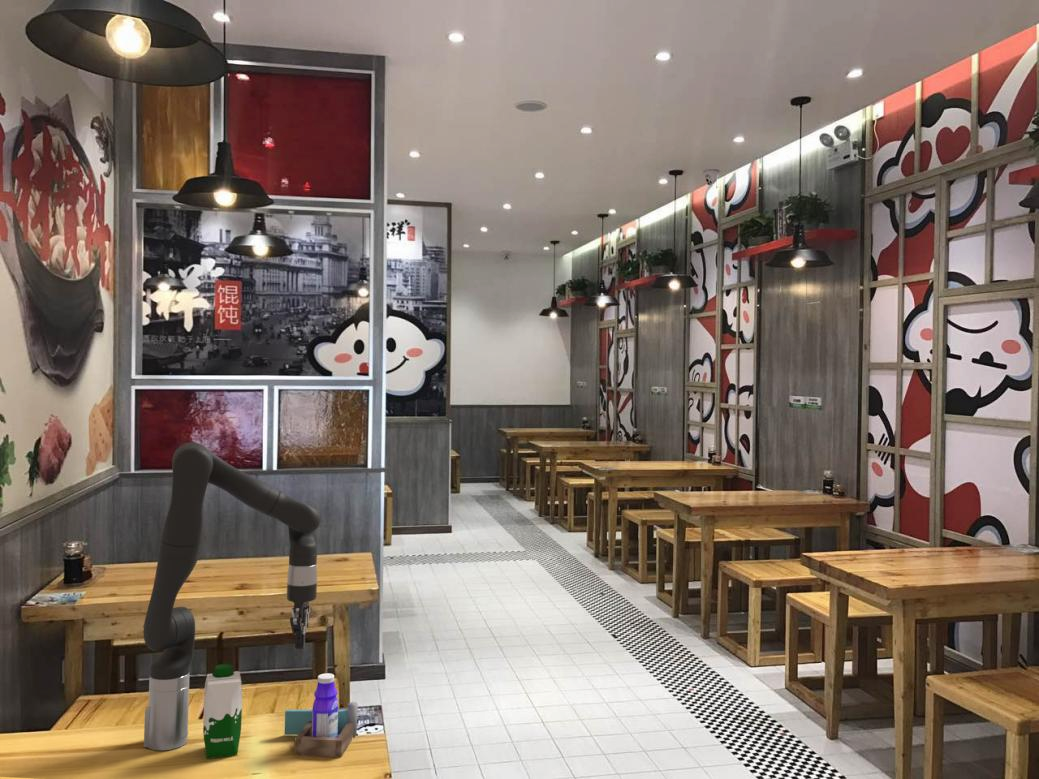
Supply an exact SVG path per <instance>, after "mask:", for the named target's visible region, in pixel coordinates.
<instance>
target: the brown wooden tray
mask: <svg viewBox="0 0 1039 779" xmlns="http://www.w3.org/2000/svg"><path fill="white" fill-rule="evenodd" d="M352 738H353V739H354V737H353V723H347V724H346V726H345V727H344V729H343V730H342V732H341V733H340V735H338V738H330V737H312V721H309V722H308V723H307V724H306V726H305V727H304V728H303V729H302V731H301V732H300V733H299V734H298V735H296V737H295V738H294V756H305V757H306V756H307V757H309V756H310V757H325V758H326V757H329V758H342V757H343V755H344V754H345V752H346V751H347V749H348V747H349V746H350V744H351V743H352V741H353V740H352ZM351 740H352V741H351ZM350 742H351V743H350ZM348 745H349V746H348Z"/></svg>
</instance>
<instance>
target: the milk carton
mask: <svg viewBox="0 0 1039 779" xmlns="http://www.w3.org/2000/svg"><path fill="white" fill-rule="evenodd" d="M242 687H243V683H242V678H241V674H240V671H237V670H236V671H233V665H232V664H229V663H222V664H221V663H220V664H218V665H216V666H214V672H212V673H207V675H206V679H205V683H204V691H203V697H204V700H203V726H202V727H203V728H202V731H203V732H202V734H203V742H204V749H205V750H204V751H205V756H206V760H207V759H208V760H209V759H215V758H223V757H224V758H225V757H232V756H238V752H239V746H240V745H239V744H240V740H241V735H242V717H243V715H242V714H243V689H242Z"/></svg>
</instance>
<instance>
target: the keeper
mask: <svg viewBox="0 0 1039 779" xmlns="http://www.w3.org/2000/svg"><path fill="white" fill-rule="evenodd" d="M312 716H313V711H312V709H285V711H284V736H295V735H296V736H298V734H299V733H300V732H301V731H302V729H303V728H304V727H305V726H306V724H307V723H308V722H309V721H312ZM347 723H353V738H354V737H356V736H357V733H358V732H357V731H358V730H357V728H358V702H354V701H352V702H351V701H350V702H348V703H347V709H338V736H339V735H340V733H341V732H342V730H343V729H344V727H345V726H346V724H347Z"/></svg>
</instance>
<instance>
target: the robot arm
mask: <svg viewBox="0 0 1039 779" xmlns="http://www.w3.org/2000/svg"><path fill="white" fill-rule="evenodd" d="M171 463H172V464H171V466H172V467H171V468H172V469H171V470H172V486H171V499H170V504H169V508H168V511H167V515H166V517H165V520H164V523H163V527H162V530H161V536H160V540H159V549H158V554H157V565H156V570H155V576H154V581H153V586H152V587H153V588H152V590H151V591H152V592H151V595H150V598H149V603H148V606H147V610H146V614H145V618H144V622H143V630H142V632H143V633H142V634H143V640H144V643H145V645H146V647H147V648H148V649H149V650H151V651H155V652H156V651H157V652H158V651H163V650H164V651H163V652H162V653H161V655H159V657H157V658H156V659H155V660H153V662H151V664H150V666H149V682H148V683H149V684H148V705H147V706H146V707H145V708H144V709H145V710H144V726H143V728H144V731H143V732H144V733H143V748H147V749H149V750H153V751H170V750H174V749H178V748H181V747H182V746H184V745H185V744H187V743H188V739H189V706H190V704H189V700H190V674H191V671H190V670H191V669H190V667H191V665H192V662H193V659H194V651H195V640H196V639H195V638H196V621H195V617H194V615H193V612H192V611H191V610H190V609H189V608H188V607H185V606H177V607H175V603H176V600H177V596H178V594H179V592H180V590H181V589H182V588H183V585H184V584H185V582H186V581H187V580H188V578H189V577H190V575H191V573H192V572H193V570H194V569H195V567H196V564H197V562H198V560H199V554H200V548H201V543H202V542H201V541H202V531H203V530H202V529H203V507H204V506H203V504H204V500H205V496H206V491H207V489H208V484H211V485H213V486H215V487H218V488H219V489H222V490H223V491H224V492H226V493H228V494H230V495H231V496H232V497H234V498H235V499H237V500H239V501H240V502H241V503H243V504H244V505H246V506H248V507H250V508H251V509H253V510H255V511H257V512H258V513H261V514H263V515H265V516H268V517H270V518H273V519H275V520H278V521H279V522H282V524H284V525H286V526H287V528H288V537H289V550H288V551H289V553H288V556H289V557H288V568H287V580H286V582H287V583H286V600H287V601H288V602H292V603H293V607H292V608H291V615H292V617H290V618H289V623H290V627H291V631H292V634H294V637H295V638H294V648H295V650H296V649H297V650H298V649H299V650H302V649H304V648H305V646H306V634H307V630H308V628H309V623H310V619H311V614H312V613H311V612H312V606H311V605H310V602H313V601H315V600H316V599H317V590H318V589H317V588H318V568H317V563H318V562H317V560H318V548H317V543H316V541H315V531H316V530H318V528H319V526H320V524H321V515H320V513H319V511H318V510H317V509H316V508H315V507H313V506H311V505H310V504H307V503H304V502H302V501H300V500H297V499H295V498H293V497H291V496H289V495H288V494H286V493H285V492H284V491H281V490H280V489H278V488H276V487H274V486H272V485H270V484H268V483H266V482H263V481H262V480H259V478H255V477H254V476H251V475H249V474H248V473H245V472H243V471H241V470H240V469H238V468H236V467H234V466H233V465H231V464H230V463H228V462H226V461H225V460H223V459H222V458H220V457H219V456H218V455H217V454H215V453H213V452H212V451H211V450H209V449H208V448H207V447H206V445H203V444H202V443H199V442H186V443H184V444H182V445H180V446H179V447H177V449H176V450H175V452H174V453H173V456H172V462H171Z"/></svg>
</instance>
